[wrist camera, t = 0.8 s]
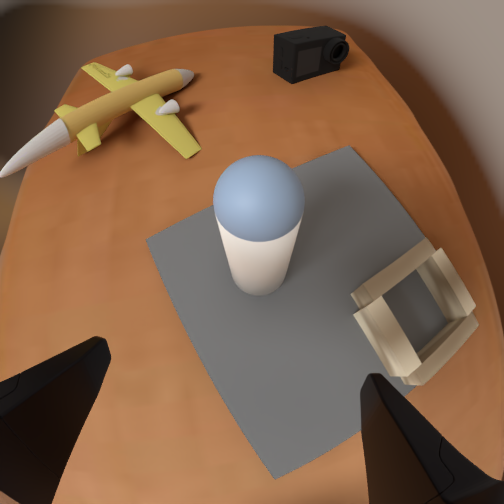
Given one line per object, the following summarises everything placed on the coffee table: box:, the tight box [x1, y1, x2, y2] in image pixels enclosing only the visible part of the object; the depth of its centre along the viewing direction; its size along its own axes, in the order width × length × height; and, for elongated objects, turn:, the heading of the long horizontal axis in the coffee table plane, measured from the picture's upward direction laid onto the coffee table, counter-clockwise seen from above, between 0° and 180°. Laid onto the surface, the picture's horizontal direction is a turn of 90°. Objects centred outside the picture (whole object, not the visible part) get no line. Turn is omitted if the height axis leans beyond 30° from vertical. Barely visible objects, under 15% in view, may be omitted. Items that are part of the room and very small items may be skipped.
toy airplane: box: [0, 62, 202, 177], centre depth 29 cm, size 26×7×30 cm
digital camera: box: [273, 26, 349, 84], centre depth 33 cm, size 10×5×7 cm, turn 126°
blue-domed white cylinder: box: [213, 155, 305, 296], centre depth 17 cm, size 4×4×12 cm
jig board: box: [146, 146, 448, 479], centre depth 22 cm, size 23×23×1 cm
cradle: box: [350, 237, 479, 385], centre depth 19 cm, size 9×9×3 cm
